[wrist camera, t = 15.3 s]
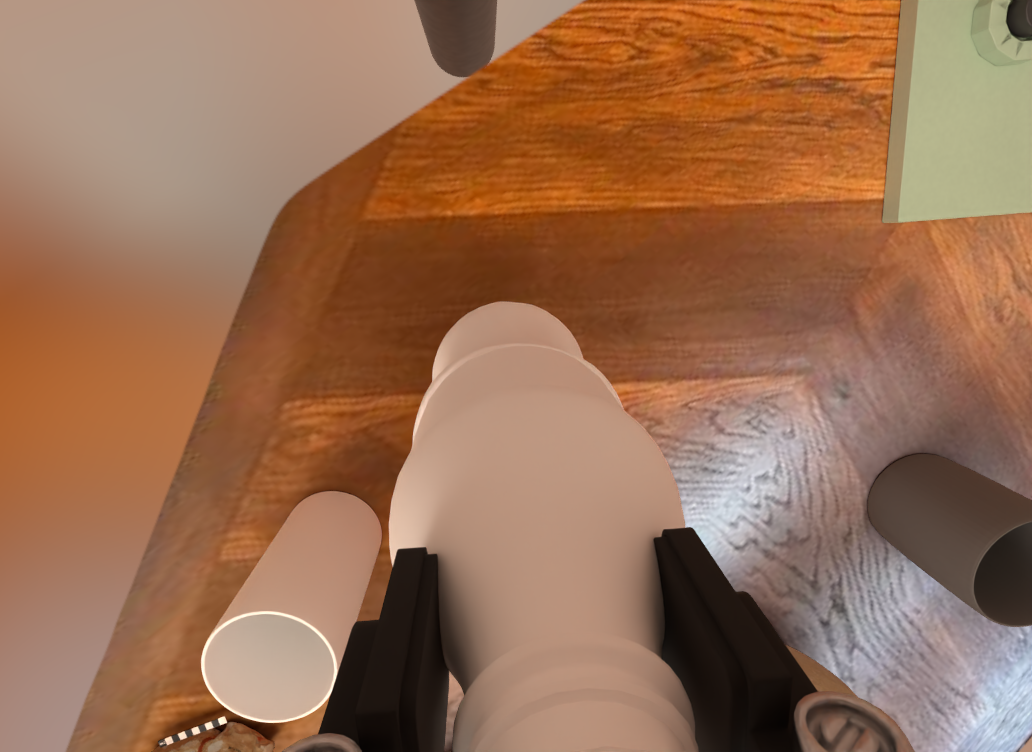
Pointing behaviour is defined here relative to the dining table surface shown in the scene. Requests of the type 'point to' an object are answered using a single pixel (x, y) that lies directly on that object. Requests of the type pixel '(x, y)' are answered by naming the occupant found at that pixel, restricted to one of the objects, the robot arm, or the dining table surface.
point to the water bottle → (542, 543)
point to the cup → (295, 612)
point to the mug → (960, 532)
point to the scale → (959, 114)
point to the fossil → (217, 739)
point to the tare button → (1020, 18)
